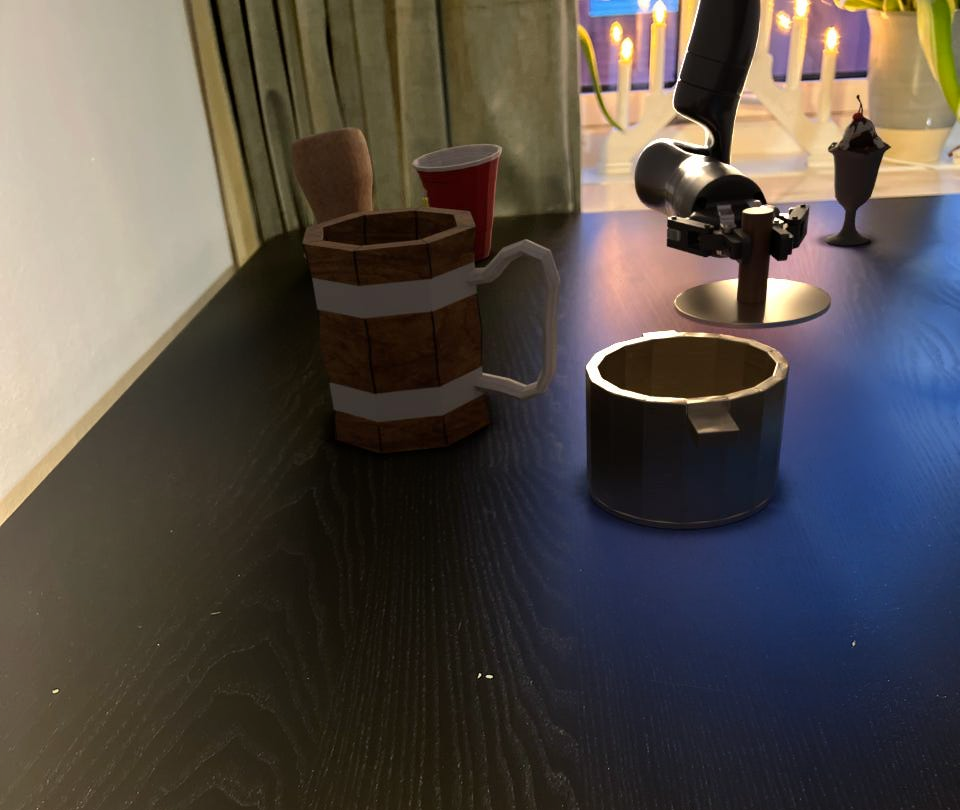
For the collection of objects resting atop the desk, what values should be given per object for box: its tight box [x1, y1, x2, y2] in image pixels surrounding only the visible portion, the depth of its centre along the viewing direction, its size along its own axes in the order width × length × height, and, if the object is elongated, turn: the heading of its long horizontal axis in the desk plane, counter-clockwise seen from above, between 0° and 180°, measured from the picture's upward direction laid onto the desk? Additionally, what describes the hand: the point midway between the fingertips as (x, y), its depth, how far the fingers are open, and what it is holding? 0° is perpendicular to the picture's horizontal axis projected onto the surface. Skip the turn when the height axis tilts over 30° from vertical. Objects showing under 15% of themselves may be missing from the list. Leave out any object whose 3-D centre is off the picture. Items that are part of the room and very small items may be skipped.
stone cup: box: [289, 127, 374, 260], centre depth 123 cm, size 15×12×15 cm
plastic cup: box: [411, 143, 503, 262], centre depth 119 cm, size 11×11×12 cm
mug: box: [301, 205, 561, 454], centre depth 76 cm, size 20×14×15 cm
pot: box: [584, 330, 790, 530], centre depth 65 cm, size 13×18×8 cm
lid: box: [674, 207, 832, 330], centre depth 86 cm, size 14×14×9 cm
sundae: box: [824, 94, 892, 247], centre depth 111 cm, size 7×7×15 cm
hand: (765, 250), depth 83 cm, fingers closed on lid, 2 cm apart
